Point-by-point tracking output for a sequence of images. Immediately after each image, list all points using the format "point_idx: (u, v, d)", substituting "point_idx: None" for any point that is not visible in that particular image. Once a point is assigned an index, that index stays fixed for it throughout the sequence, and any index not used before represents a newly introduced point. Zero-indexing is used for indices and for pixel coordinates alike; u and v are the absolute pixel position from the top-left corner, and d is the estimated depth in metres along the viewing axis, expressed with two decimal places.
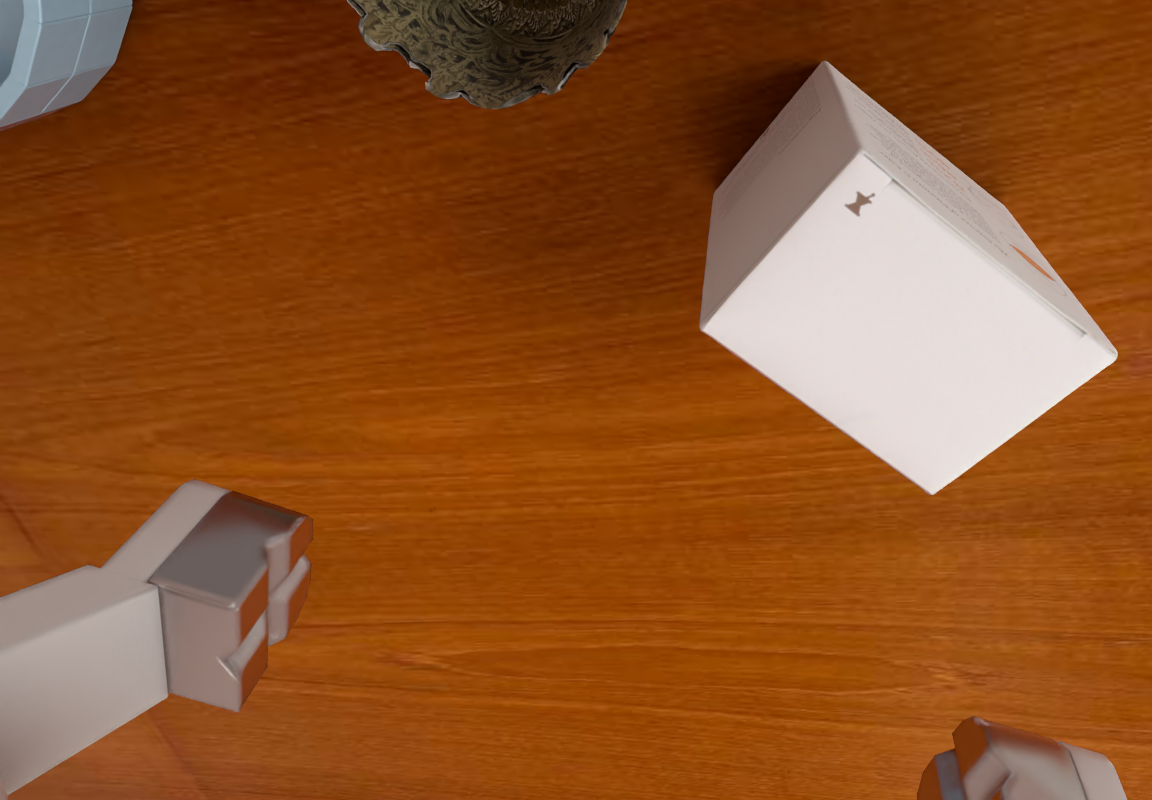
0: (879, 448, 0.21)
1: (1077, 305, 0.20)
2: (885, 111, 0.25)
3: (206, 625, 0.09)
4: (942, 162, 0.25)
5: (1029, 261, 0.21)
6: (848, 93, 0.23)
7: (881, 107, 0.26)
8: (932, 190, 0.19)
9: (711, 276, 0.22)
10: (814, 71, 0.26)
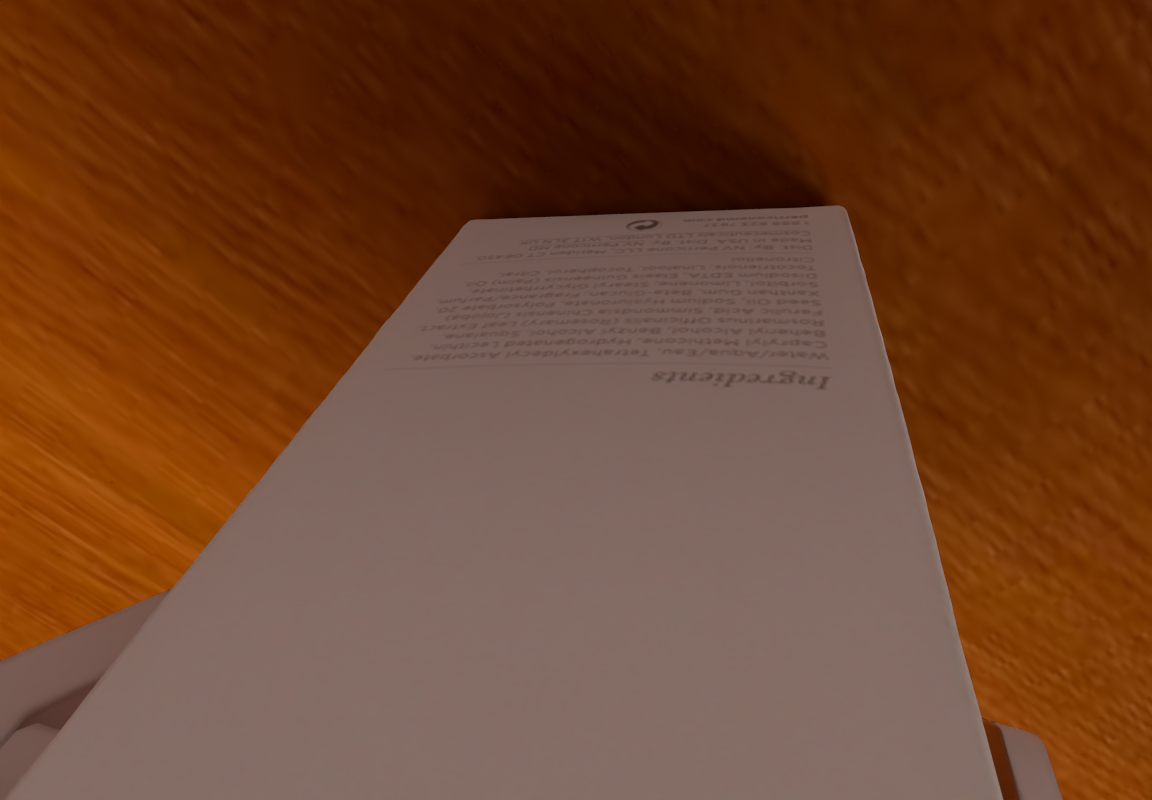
0: None
1: None
2: None
3: None
4: None
5: None
6: None
7: None
8: None
9: (194, 622, 0.06)
10: (816, 210, 0.11)
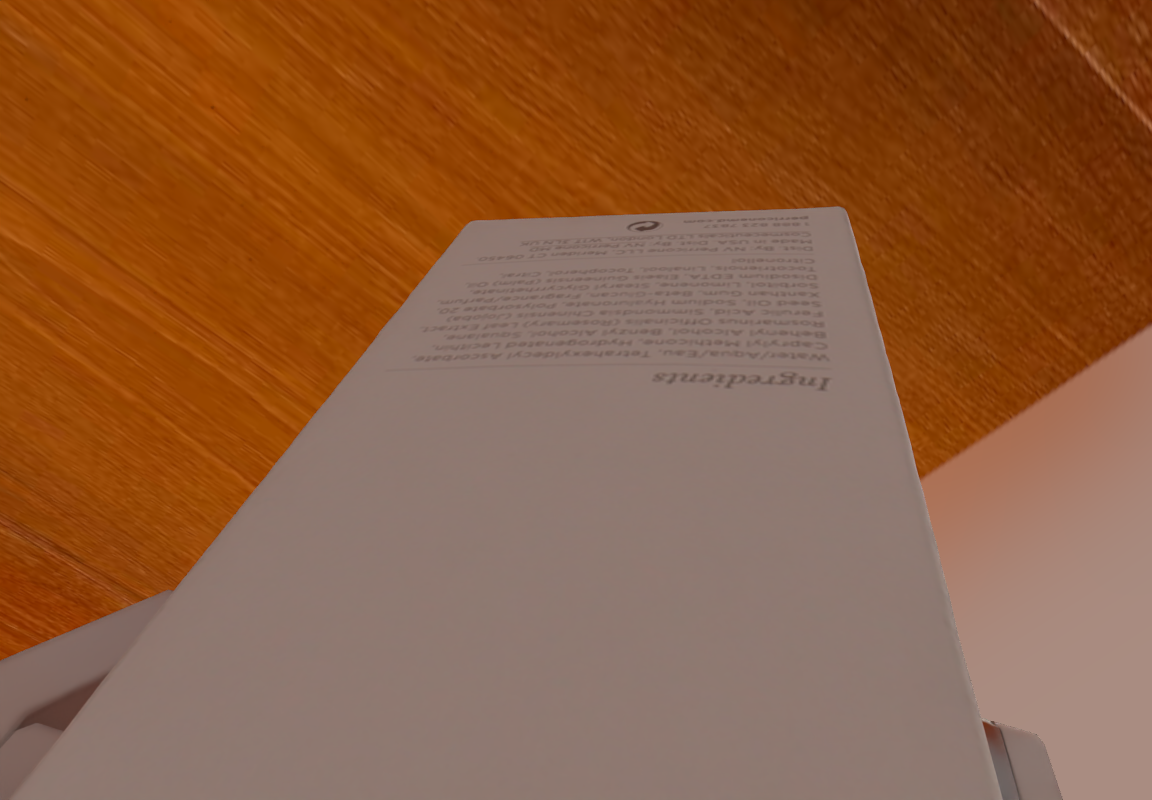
0: None
1: None
2: None
3: None
4: None
5: None
6: None
7: None
8: None
9: (198, 622, 0.06)
10: (816, 211, 0.11)
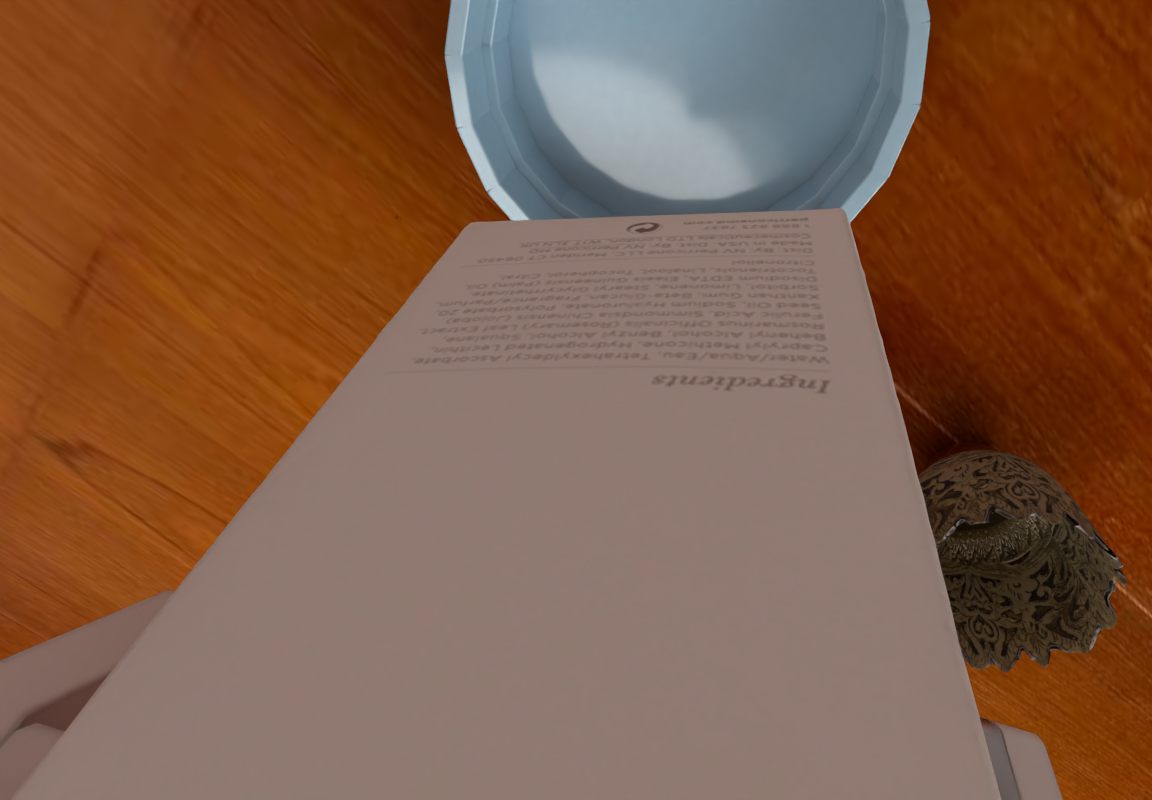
0: None
1: None
2: None
3: None
4: None
5: None
6: None
7: None
8: None
9: (196, 626, 0.06)
10: (816, 213, 0.11)
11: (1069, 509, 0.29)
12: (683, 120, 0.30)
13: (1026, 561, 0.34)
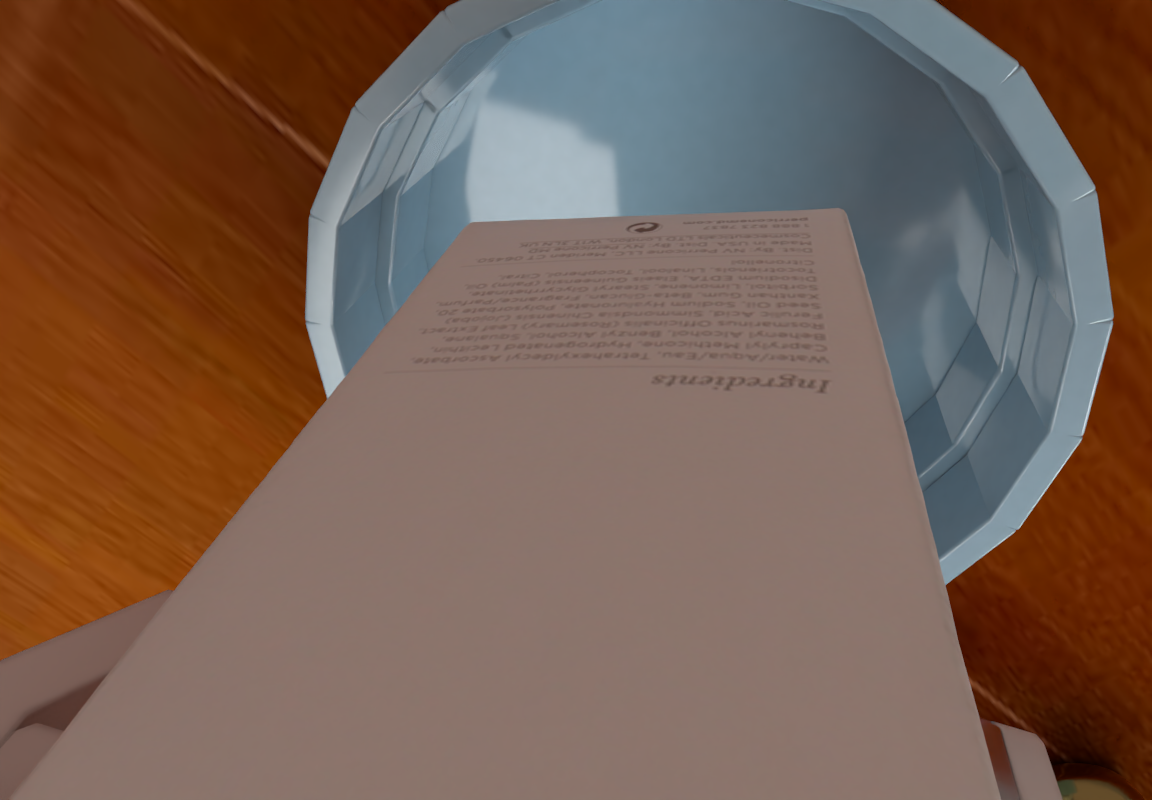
0: None
1: None
2: None
3: None
4: None
5: None
6: None
7: None
8: None
9: (195, 626, 0.06)
10: (816, 213, 0.11)
11: None
12: None
13: None
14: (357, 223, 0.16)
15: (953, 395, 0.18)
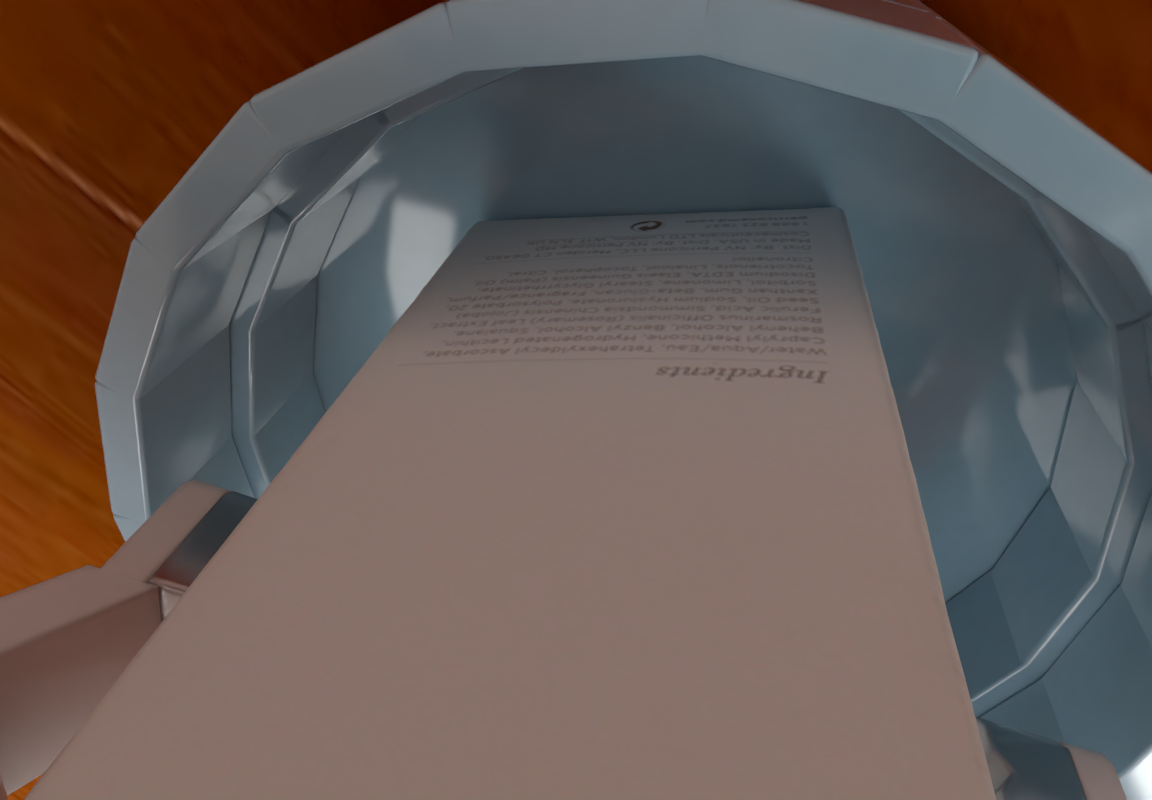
0: None
1: None
2: None
3: None
4: None
5: None
6: None
7: None
8: None
9: (224, 601, 0.06)
10: (814, 211, 0.11)
11: None
12: None
13: None
14: (179, 380, 0.11)
15: (1019, 586, 0.14)
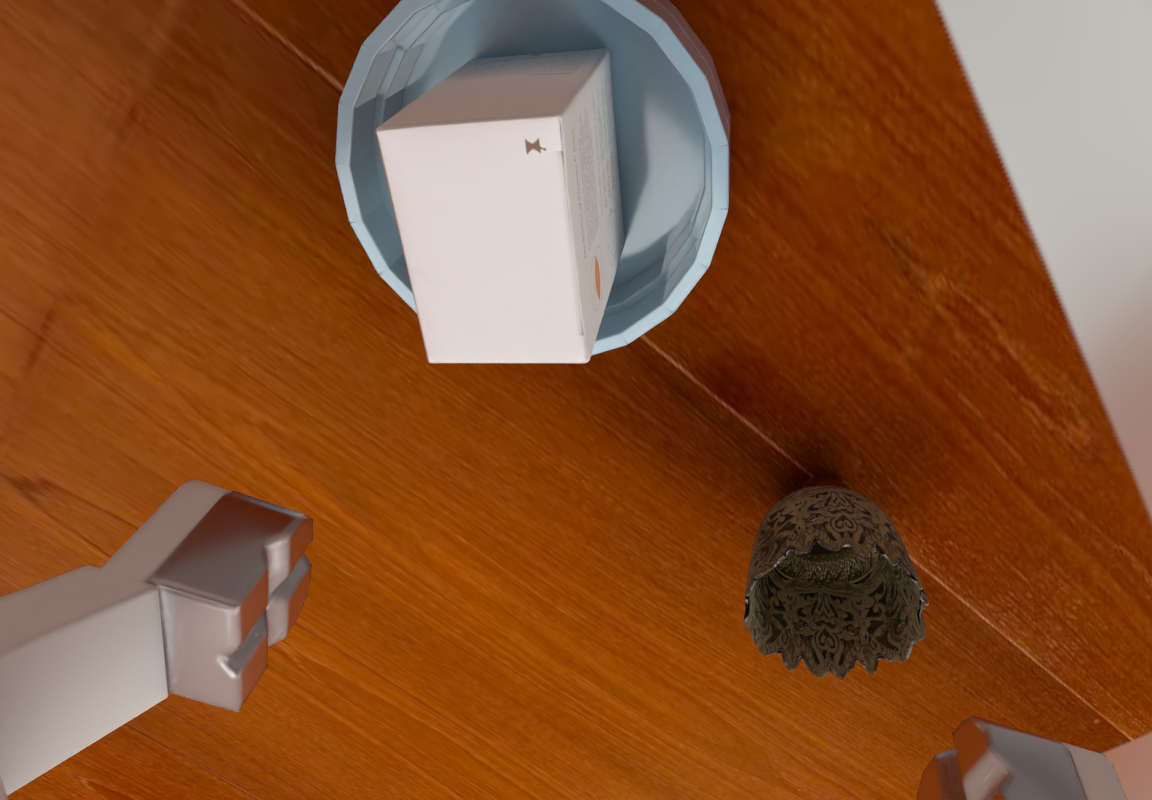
0: (422, 307, 0.26)
1: (596, 321, 0.28)
2: (611, 118, 0.31)
3: (206, 625, 0.09)
4: (613, 181, 0.32)
5: (596, 275, 0.28)
6: (597, 82, 0.28)
7: (612, 113, 0.32)
8: (581, 182, 0.25)
9: (414, 106, 0.25)
10: (597, 49, 0.31)
11: (881, 539, 0.34)
12: None
13: (867, 581, 0.39)
14: (362, 109, 0.31)
15: (694, 212, 0.33)
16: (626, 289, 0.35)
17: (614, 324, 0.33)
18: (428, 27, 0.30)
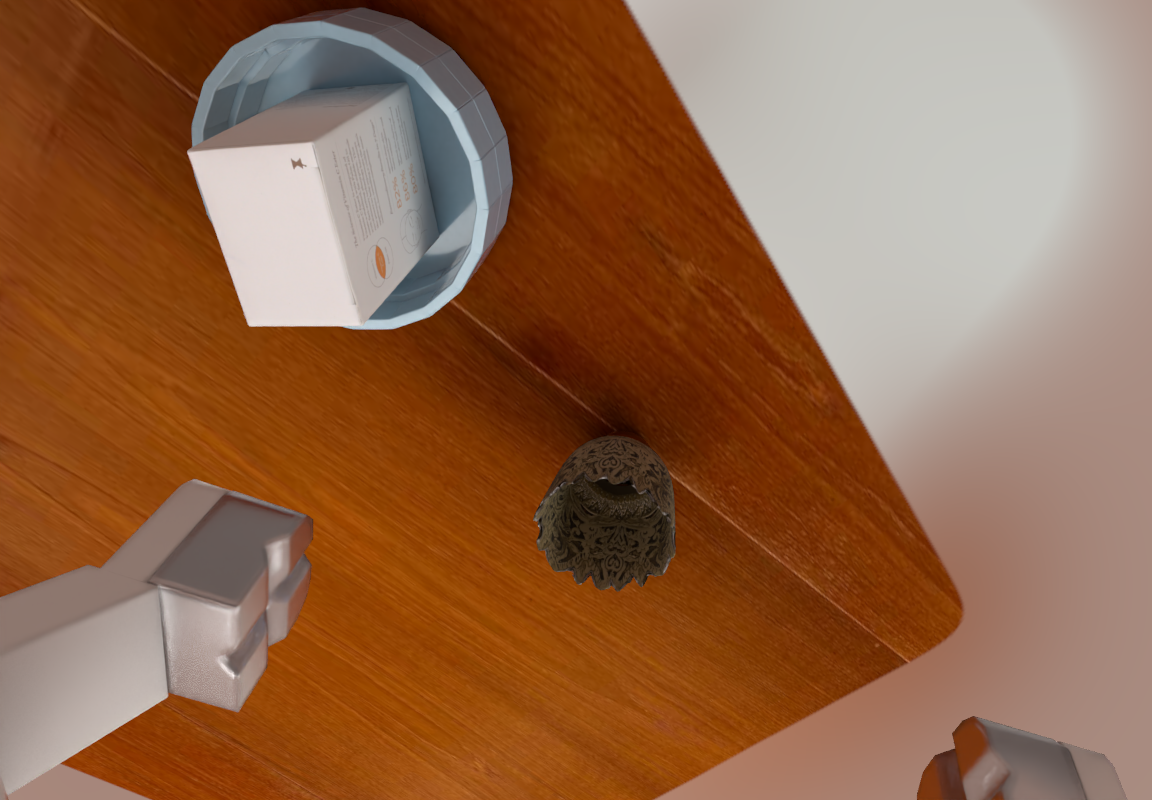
0: (237, 283, 0.35)
1: (378, 295, 0.36)
2: (411, 137, 0.40)
3: (206, 625, 0.09)
4: (415, 187, 0.40)
5: (377, 260, 0.36)
6: (380, 111, 0.37)
7: (413, 133, 0.40)
8: (348, 189, 0.34)
9: (226, 132, 0.34)
10: (397, 83, 0.39)
11: (637, 474, 0.42)
12: None
13: (654, 516, 0.47)
14: (213, 131, 0.39)
15: None
16: (442, 273, 0.44)
17: (423, 300, 0.42)
18: (262, 67, 0.39)
